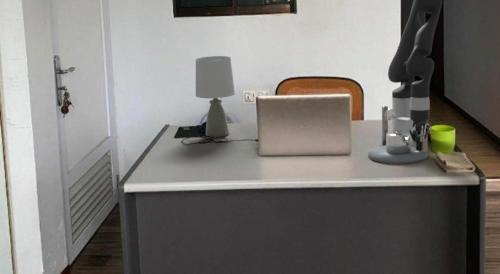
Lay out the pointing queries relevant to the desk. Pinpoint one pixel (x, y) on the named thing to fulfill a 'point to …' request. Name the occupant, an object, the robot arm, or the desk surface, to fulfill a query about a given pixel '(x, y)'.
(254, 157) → the desk surface
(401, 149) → the cover
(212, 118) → the lamp
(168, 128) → the desk surface
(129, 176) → the desk surface
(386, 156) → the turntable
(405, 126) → the skincare box
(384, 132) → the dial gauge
